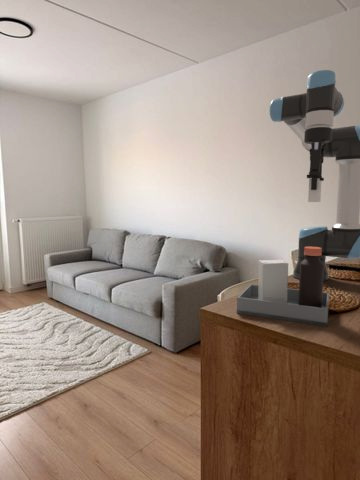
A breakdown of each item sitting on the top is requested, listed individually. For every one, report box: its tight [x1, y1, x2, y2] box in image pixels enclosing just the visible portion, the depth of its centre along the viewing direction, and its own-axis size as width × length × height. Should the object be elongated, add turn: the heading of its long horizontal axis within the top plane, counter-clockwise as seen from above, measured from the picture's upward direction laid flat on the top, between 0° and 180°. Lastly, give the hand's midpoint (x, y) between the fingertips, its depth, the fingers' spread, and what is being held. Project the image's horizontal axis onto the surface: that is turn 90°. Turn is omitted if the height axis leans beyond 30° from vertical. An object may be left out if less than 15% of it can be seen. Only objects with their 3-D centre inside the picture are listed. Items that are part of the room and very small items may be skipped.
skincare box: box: [257, 258, 289, 303], centre depth 108 cm, size 8×6×15 cm
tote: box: [236, 283, 330, 327], centre depth 107 cm, size 18×26×5 cm
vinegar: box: [298, 247, 324, 308], centre depth 102 cm, size 7×7×20 cm
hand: (314, 202), depth 100 cm, fingers open, 13 cm apart
